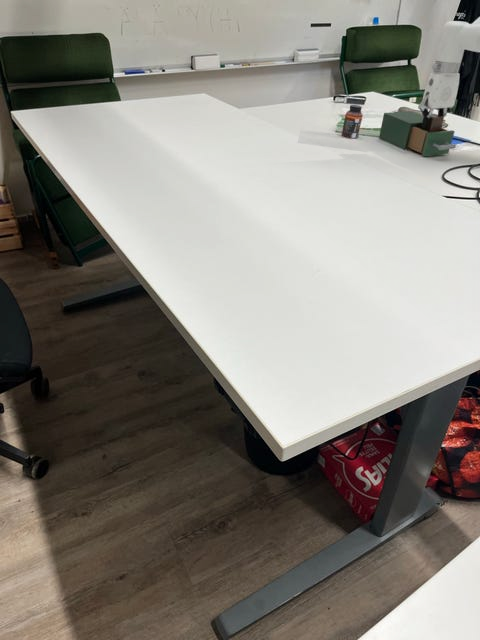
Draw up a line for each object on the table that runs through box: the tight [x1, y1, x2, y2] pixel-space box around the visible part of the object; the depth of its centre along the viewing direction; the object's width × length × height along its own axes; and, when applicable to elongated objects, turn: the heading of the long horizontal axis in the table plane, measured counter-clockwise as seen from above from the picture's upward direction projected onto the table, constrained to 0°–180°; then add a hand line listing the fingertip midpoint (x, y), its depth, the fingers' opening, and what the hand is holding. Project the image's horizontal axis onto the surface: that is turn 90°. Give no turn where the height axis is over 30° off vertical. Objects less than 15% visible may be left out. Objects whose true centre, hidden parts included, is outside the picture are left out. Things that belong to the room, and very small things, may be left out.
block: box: [428, 113, 445, 132], centre depth 158 cm, size 4×4×4 cm
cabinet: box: [378, 110, 424, 151], centre depth 170 cm, size 15×12×9 cm
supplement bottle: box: [341, 104, 363, 140], centre depth 171 cm, size 6×6×11 cm
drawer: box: [407, 125, 457, 157], centre depth 161 cm, size 18×10×7 cm, turn 23°
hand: (430, 128), depth 160 cm, fingers closed on block, 4 cm apart
